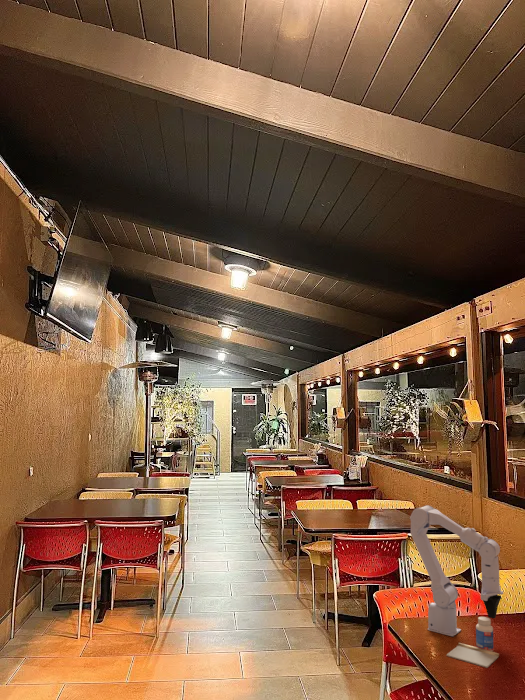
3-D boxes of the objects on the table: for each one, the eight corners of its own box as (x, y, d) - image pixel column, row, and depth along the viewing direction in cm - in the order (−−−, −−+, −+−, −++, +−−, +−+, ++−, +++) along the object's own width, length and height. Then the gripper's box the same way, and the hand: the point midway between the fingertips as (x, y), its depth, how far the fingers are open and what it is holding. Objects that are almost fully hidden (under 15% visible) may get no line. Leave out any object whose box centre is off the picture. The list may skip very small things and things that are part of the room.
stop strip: (458, 646, 190) (458, 643, 190) (459, 645, 190) (459, 642, 190) (498, 657, 181) (497, 654, 181) (499, 656, 182) (498, 653, 182)
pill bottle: (485, 653, 184) (484, 622, 185) (472, 647, 189) (471, 617, 190) (497, 650, 187) (496, 619, 188) (484, 644, 191) (483, 614, 192)
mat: (446, 655, 182) (446, 654, 182) (458, 646, 190) (458, 645, 190) (487, 667, 174) (487, 666, 174) (498, 657, 181) (497, 656, 181)
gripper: (495, 583, 188) (496, 626, 186) (509, 574, 199) (510, 614, 197) (474, 579, 192) (475, 620, 191) (488, 570, 203) (490, 610, 202)
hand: (491, 617), depth 194 cm, fingers closed
